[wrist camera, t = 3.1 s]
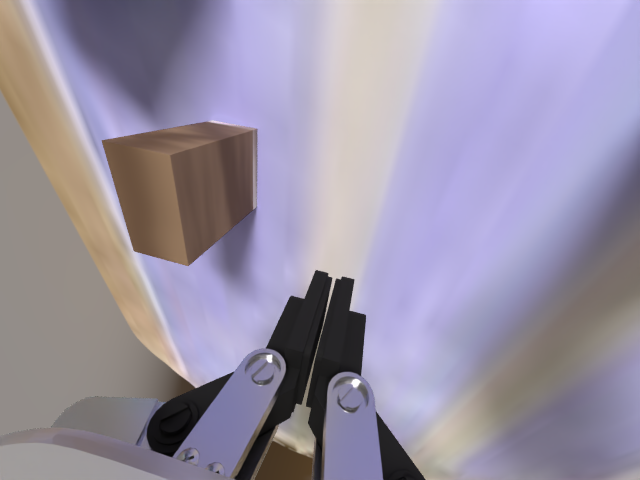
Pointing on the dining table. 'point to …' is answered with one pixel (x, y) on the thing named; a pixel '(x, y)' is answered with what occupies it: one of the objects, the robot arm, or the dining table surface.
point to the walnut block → (184, 186)
